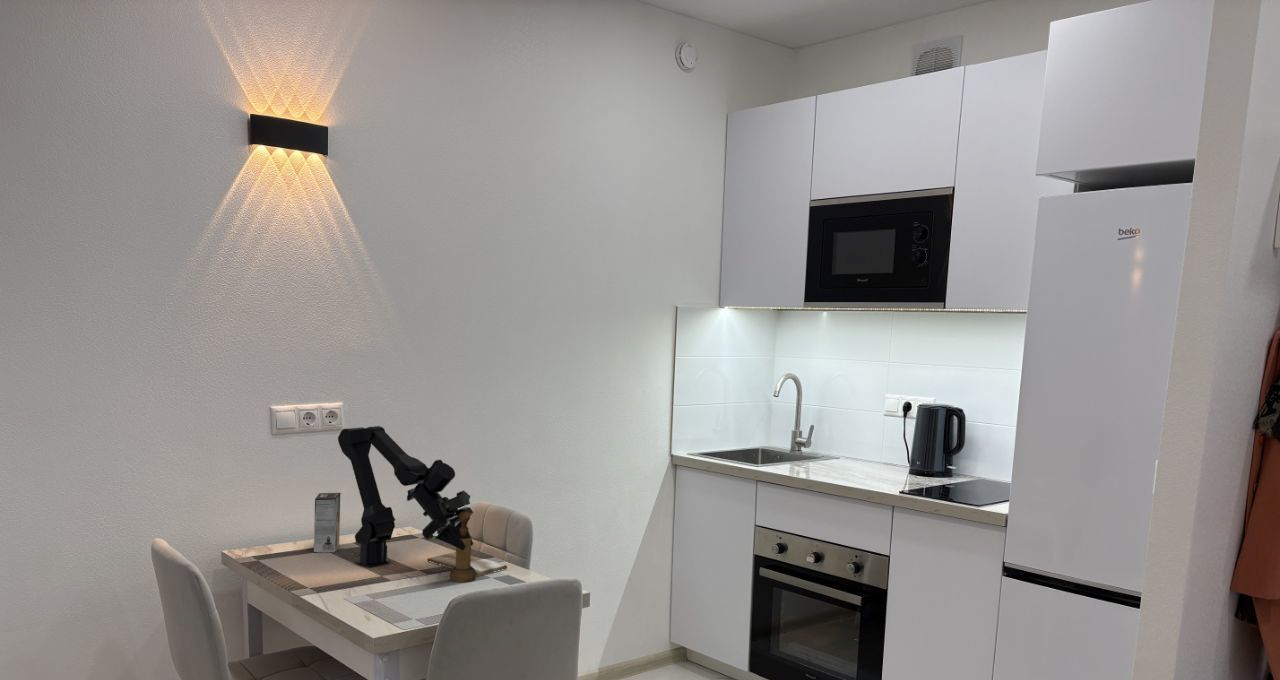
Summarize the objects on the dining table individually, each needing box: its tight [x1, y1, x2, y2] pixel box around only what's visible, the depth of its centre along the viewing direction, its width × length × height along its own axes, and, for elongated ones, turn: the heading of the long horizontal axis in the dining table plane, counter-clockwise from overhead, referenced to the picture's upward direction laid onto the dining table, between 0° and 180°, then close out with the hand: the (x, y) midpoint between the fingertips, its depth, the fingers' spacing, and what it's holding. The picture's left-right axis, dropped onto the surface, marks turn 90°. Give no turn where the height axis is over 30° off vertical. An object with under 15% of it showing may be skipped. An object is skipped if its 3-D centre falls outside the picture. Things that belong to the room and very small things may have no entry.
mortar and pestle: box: [449, 511, 476, 583], centre depth 226 cm, size 7×6×18 cm
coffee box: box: [313, 492, 342, 553], centre depth 255 cm, size 9×6×16 cm
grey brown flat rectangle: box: [426, 551, 508, 577], centre depth 240 cm, size 10×22×1 cm, turn 50°
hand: (468, 547), depth 226 cm, fingers closed on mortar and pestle, 4 cm apart
